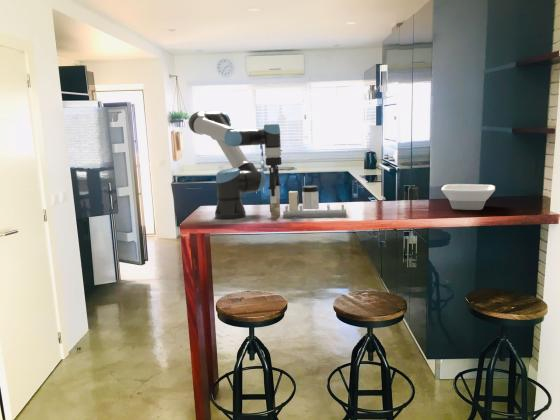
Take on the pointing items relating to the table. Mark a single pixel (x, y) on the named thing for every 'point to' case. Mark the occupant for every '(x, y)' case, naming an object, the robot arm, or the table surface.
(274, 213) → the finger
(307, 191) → the jar
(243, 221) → the table surface
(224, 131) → the robot arm
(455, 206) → the bowl
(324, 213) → the rail
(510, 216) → the table surface
